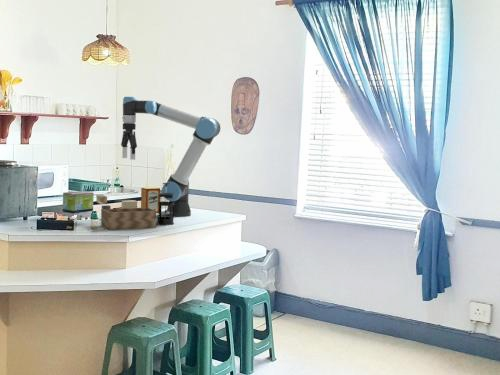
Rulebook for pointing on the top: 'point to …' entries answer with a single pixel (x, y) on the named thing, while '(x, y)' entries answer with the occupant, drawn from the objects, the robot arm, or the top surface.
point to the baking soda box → (150, 198)
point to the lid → (129, 204)
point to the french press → (172, 209)
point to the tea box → (78, 204)
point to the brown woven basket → (127, 218)
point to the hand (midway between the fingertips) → (128, 158)
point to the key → (101, 199)
